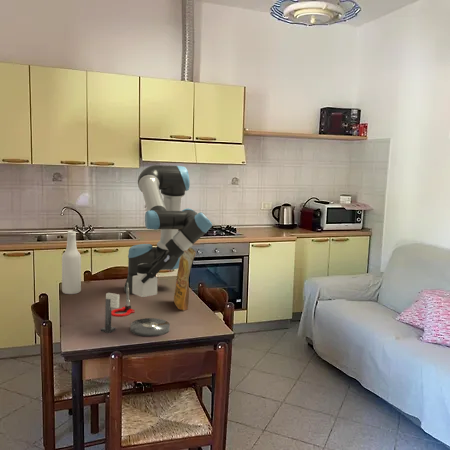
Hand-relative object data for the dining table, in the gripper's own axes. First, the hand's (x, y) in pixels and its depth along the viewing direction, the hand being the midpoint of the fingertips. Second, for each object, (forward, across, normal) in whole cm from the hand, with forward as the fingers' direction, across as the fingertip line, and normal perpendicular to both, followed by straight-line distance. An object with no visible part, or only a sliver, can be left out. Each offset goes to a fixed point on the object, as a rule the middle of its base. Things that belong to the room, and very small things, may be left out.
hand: (136, 284), depth 182 cm
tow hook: (+17, +17, -7) cm, 25 cm away
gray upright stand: (+19, -5, -5) cm, 20 cm away
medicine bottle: (+1, 0, -5) cm, 5 cm away
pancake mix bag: (-1, +28, -26) cm, 38 cm away
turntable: (+8, -3, -16) cm, 18 cm away
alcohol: (+36, +49, +13) cm, 62 cm away
